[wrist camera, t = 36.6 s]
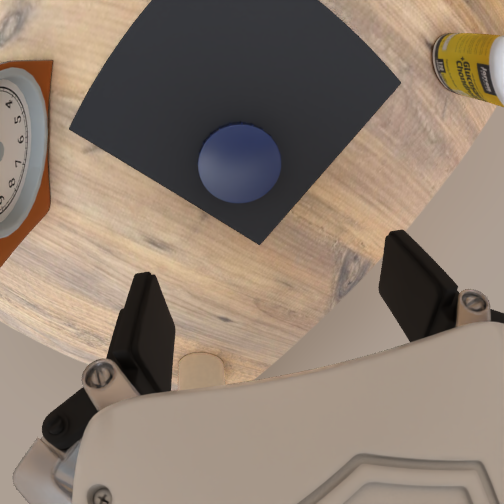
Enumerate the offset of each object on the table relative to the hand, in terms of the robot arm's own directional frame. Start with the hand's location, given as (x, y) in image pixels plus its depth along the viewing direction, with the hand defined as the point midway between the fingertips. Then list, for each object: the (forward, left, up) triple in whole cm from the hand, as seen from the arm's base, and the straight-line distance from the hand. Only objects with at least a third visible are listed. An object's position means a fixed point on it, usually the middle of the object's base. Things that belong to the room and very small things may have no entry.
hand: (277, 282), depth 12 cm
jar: (-11, +24, -15) cm, 30 cm away
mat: (+4, -5, -15) cm, 16 cm away
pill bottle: (-9, -22, -15) cm, 28 cm away
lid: (+1, -1, -13) cm, 13 cm away
